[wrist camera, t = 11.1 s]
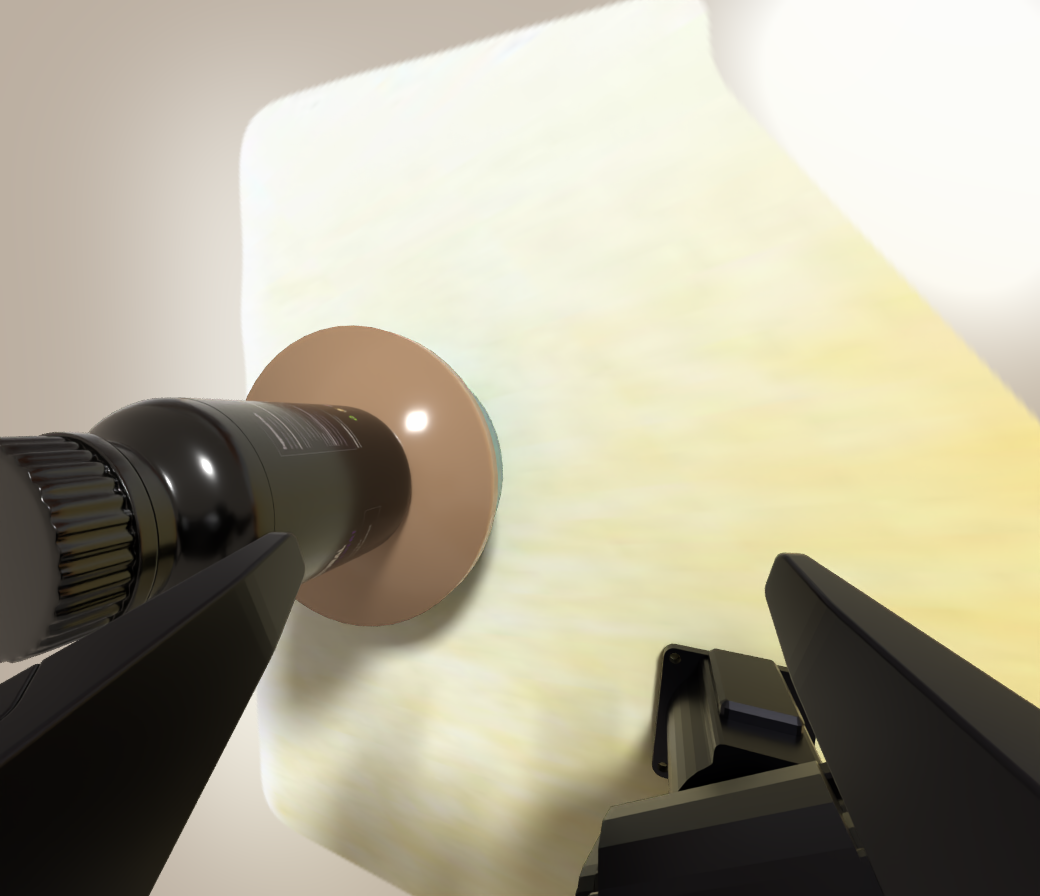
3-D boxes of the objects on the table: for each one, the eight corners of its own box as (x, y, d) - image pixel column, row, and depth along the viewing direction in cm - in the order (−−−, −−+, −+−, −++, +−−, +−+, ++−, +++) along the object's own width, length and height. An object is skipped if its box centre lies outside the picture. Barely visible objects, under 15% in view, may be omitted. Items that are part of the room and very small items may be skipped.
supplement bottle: (391, 576, 20) (55, 782, 9) (277, 513, 22) (-129, 620, 11) (438, 437, 19) (121, 470, 8) (314, 382, 21) (-99, 343, 9)
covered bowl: (511, 612, 24) (479, 656, 19) (297, 567, 28) (231, 595, 23) (530, 344, 22) (500, 328, 18) (302, 337, 26) (233, 323, 22)
